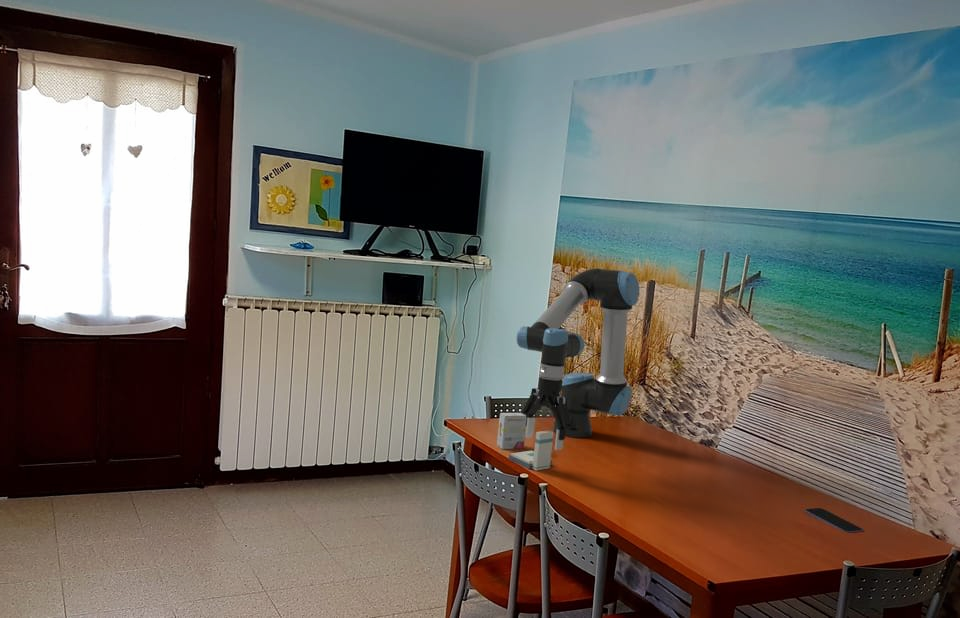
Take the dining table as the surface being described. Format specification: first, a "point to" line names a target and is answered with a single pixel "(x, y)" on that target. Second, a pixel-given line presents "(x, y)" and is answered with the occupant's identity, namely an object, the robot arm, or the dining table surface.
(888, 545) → the dining table surface
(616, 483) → the dining table surface
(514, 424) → the ink box
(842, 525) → the smartphone
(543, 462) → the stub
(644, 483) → the dining table surface
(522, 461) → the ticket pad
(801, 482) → the dining table surface
